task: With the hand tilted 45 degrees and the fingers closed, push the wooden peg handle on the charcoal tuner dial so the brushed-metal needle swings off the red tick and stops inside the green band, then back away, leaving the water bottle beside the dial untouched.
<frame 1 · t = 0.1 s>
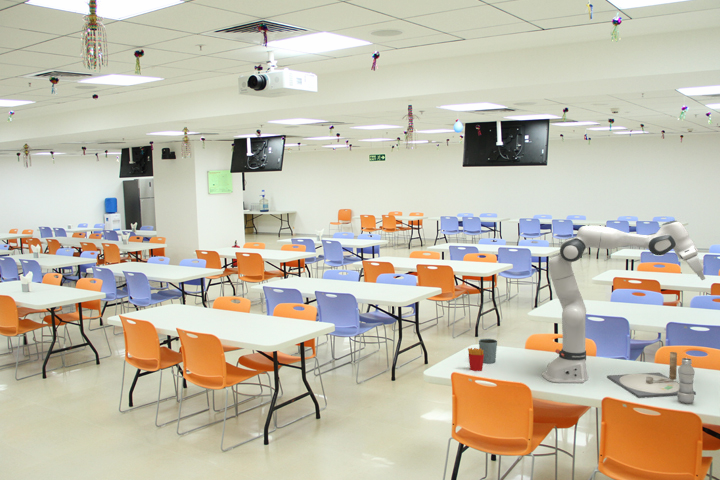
hand: (702, 277, 266), 54 cm above the table, tool tilted 30°, fingers open, 8 cm apart
grey bucket: (488, 361, 322), on the table
plastic bottle: (685, 402, 257), on the table
needle lever: (661, 367, 278), point 9 cm above the table, hinge at 0.0°
french fries: (475, 370, 308), on the table
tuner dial: (649, 385, 278), on the table
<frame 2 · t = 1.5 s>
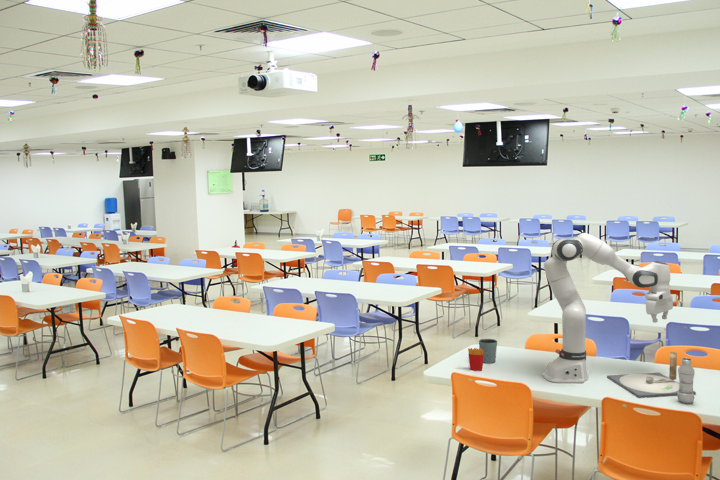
hand: (659, 320, 285), 30 cm above the table, tool pointing down, fingers open, 8 cm apart
nothing on the table moved.
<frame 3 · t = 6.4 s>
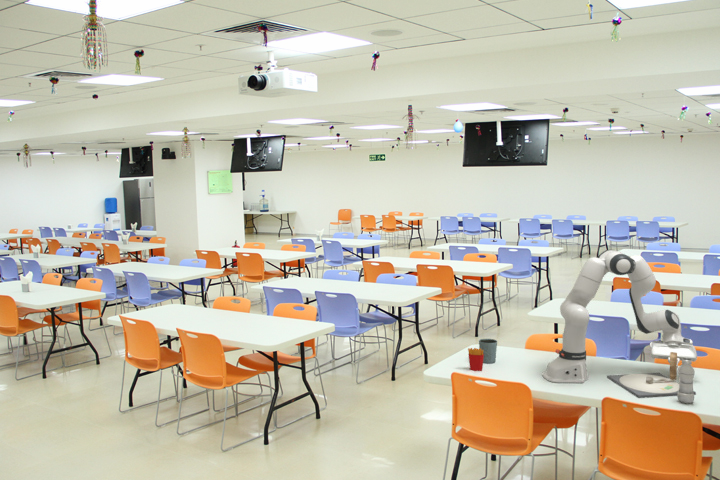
hand: (674, 366, 280), 8 cm above the table, tool tilted 45°, fingers closed
needle lever: (661, 367, 278), point 9 cm above the table, hinge at -0.6°, touching gripper
everything else where it was.
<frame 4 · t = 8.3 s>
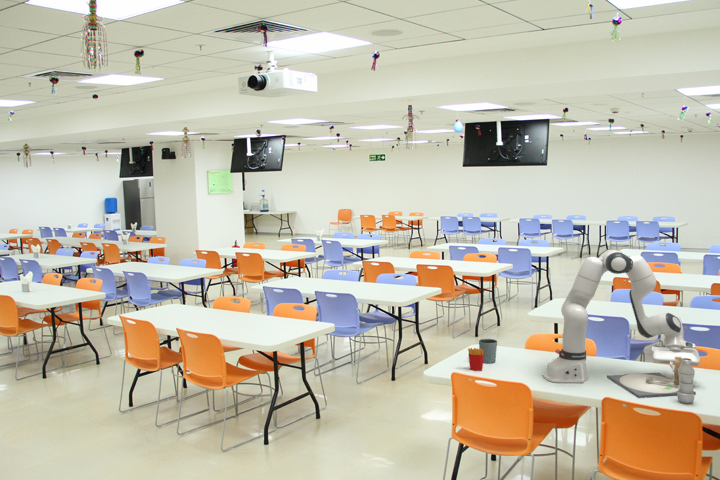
hand: (676, 371, 273), 8 cm above the table, tool tilted 45°, fingers closed, pressing on needle lever
needle lever: (663, 370, 274), point 9 cm above the table, hinge at -39.3°, touching gripper
everything else where it was.
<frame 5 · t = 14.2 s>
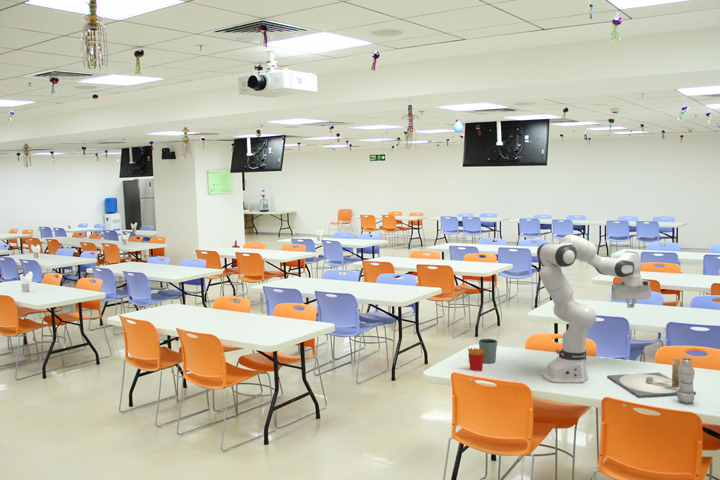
hand: (630, 307, 301), 33 cm above the table, tool pointing down, fingers closed
needle lever: (662, 371, 273), point 9 cm above the table, hinge at -56.1°
everything else where it was.
at the end: needle lever at -56° (first picture: +0°) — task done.
